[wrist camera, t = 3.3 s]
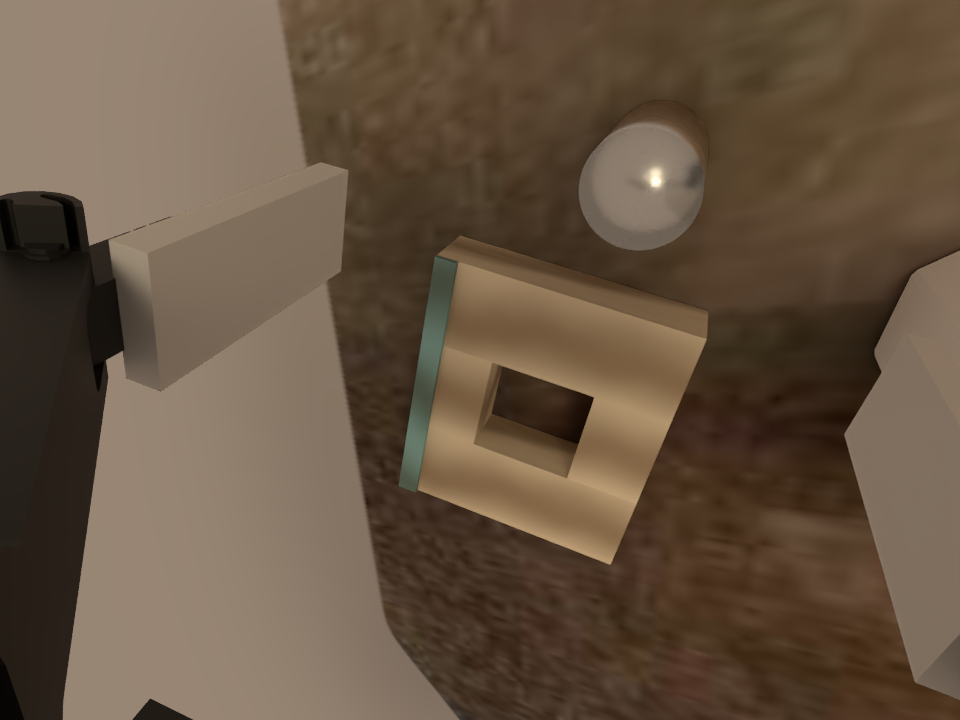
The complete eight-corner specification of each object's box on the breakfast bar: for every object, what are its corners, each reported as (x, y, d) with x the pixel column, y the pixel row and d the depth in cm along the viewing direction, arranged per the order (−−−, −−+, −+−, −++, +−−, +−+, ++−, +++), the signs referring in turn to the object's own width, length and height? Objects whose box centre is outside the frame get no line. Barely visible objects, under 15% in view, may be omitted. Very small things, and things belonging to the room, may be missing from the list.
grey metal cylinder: (626, 89, 30) (597, 112, 23) (724, 114, 29) (724, 145, 23) (598, 185, 32) (565, 231, 26) (688, 210, 32) (678, 264, 25)
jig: (460, 235, 36) (434, 256, 33) (708, 310, 33) (706, 341, 30) (421, 452, 44) (398, 485, 41) (618, 526, 42) (609, 568, 39)
